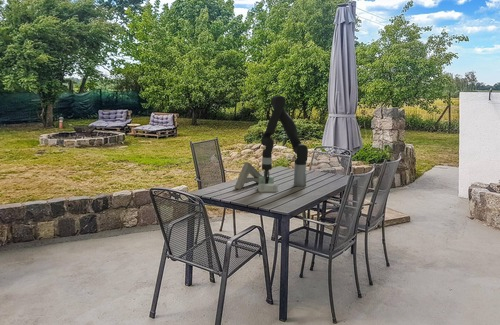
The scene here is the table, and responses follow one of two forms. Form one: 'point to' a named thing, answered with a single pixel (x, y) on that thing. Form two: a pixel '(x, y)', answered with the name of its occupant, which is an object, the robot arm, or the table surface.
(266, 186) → the rail
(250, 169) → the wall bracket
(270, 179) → the tapered block
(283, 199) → the table surface
